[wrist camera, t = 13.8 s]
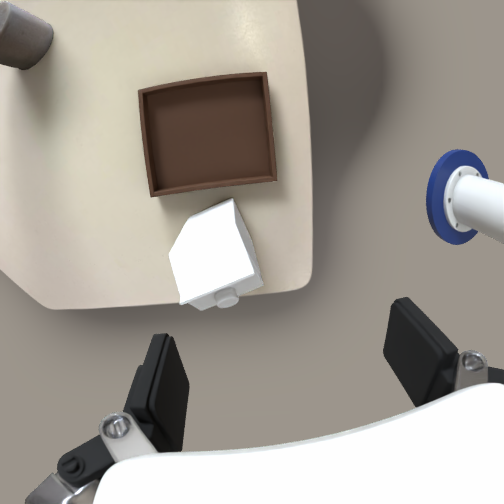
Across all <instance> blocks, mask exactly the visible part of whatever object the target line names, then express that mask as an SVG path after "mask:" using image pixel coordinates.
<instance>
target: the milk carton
mask: <svg viewBox="0 0 504 504" xmlns="http://www.w3.org/2000/svg"><path fill="white" fill-rule="evenodd" d="M169 258H170V261H171V265H172V269H173V272H174V276H175V279H176V283H177V286H178V290H179V293H180V296H181V299H180V303H179V304H180V305H183V304H185V303H189V304H191V305H192V306H194V307H196V308H197V309H199V310H205V309H207V308H209V307H212V306H215V305H217V306H218V307H220V308H227V307H230V306H233V305H235V304H236V303H238V301H239V298H238V296H240V295H242V294H245V293H247V292H250V291H252V290H254V289H257V288H259V287H261V286H263V285H264V284H263V280H262V276H261V273H260V269H259V265H258V261H257V257H256V254H255V250H254V246H253V242H252V239H251V237H250V235H249V233H248V230H247V228H246V226H245V224H244V221H243V219H242V217H241V215H240V213H239V210H238V208H237V206H236V204H235V202H234V199H233V198H230V199H228V200H225V201H223V202H221V203H219V204H217V205H214V206H212V207H210V208H208V209H206V210H203V211H201V212H199V213H197V214H195V215H193V216H191V217H189V218H188V220H187V221H186V223H185V225H184V227H183V229H182V231H181V232H180V234H179V236H178V238H177V240H176V242H175V244H174V246H173V248H172V249H171V251H170V253H169Z"/></svg>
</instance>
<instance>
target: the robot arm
mask: <svg viewBox="0 0 504 504" xmlns="http://www.w3.org/2000/svg"><path fill="white" fill-rule="evenodd" d="M443 203H444V213H445V216H446V219H447V221H448V223H449V225H450V226H451V227H452V228H454V229H455V230H457V231H460V232H467V231H469V230H471V229H474V230H477V231H479V232H481V233H483V234H485V235H487V236H489V237H491V238H493V239H495V240H497V241H499V242H501V243H503V244H504V184H503V183H500V182H496V181H493V180H489V179H485V178H482V176H481V175H480V173H479V172H478V171H477V170H476V169H475V168H473V167H470V166H461V167H459V168H457V169H456V170H455V171H454V172H453V173H452V174H451V176H450V177H449V180H448V182H447V184H446V187H445V192H444V200H443ZM383 354H384V357H385V359H386V360H387V362H388V363H389V365H390V366H391V368H392V370H393V371H394V373H395V374H396V376H397V377H398V379H399V381H400V382H401V384H402V386H403V387H404V389H405V390H406V392H407V394H408V395H409V397H410V399H411V400H412V402H413V404H414V405H415V407H417V408H414V409H412V410H409V411H407V412H404V413H401V414H399V415H396V416H393V417H390V418H387V419H384V420H381V421H378V422H375V423H372V424H368V425H365V426H362V427H358V428H354V429H351V430H347V431H343V432H339V433H335V434H331V435H327V436H322V437H318V438H313V439H308V440H302V441H297V442H291V443H285V444H279V445H272V446H264V447H255V448H247V449H246V448H245V449H233V450H220V451H198V452H181V451H182V446H183V437H184V428H185V418H186V411H187V403H188V395H189V381H188V378H187V375H186V373H185V370H184V367H183V364H182V361H181V359H180V356H179V353H178V350H177V347H176V344H175V341H174V338H173V337H172V336H171V337H169V335H168V334H167V333H166V334H154V335H153V338H152V340H151V343H150V346H149V349H148V352H147V355H146V358H145V360H144V363H143V365H140V366H139V367H138V369H137V371H136V374H135V377H134V380H133V383H132V385H131V389H130V391H129V394H128V398H127V401H126V404H125V407H124V410H123V412H114V413H111V414H109V415H107V416H106V417H104V419H103V420H102V421H101V423H100V425H99V433H100V435H98V436H96V437H94V438H93V439H91V440H89V441H87V442H86V443H84V444H82V445H81V446H79V447H77V448H75V449H73V450H71V451H70V452H68V453H66V454H64V455H63V456H62V457H61V458H60V460H59V462H58V464H57V470H58V472H57V473H56V474H53V473H51V474H50V475H49V476H48V477H47V478H46V479H45V480H44V481H43V482H42V483H41V484H40V485H39V486H38V487H37V488H36V489H35V490H34V491H33V492H32V493H31V494H30V495H29V496H28V497H27V498H26V500H25V504H504V370H502V369H498V368H492V367H488V364H487V360H486V358H485V357H484V356H483V355H482V354H481V353H479V352H477V351H471V350H469V351H464V352H463V353H461V354H460V355H459V353H458V349H457V347H456V346H455V345H454V344H453V343H452V342H451V341H450V340H449V339H448V338H447V337H446V336H445V334H444V333H443V332H442V331H441V330H440V329H439V328H438V327H437V326H436V325H435V324H434V323H433V322H432V321H431V320H430V319H429V318H428V317H427V316H426V315H425V314H424V313H423V312H422V311H421V310H420V309H419V308H418V307H417V306H416V305H415V304H414V303H413V302H412V301H411V300H410V299H409V298H408V297H404V298H400V299H396V300H395V301H394V303H393V304H392V305H391V310H390V316H389V322H388V328H387V334H386V339H385V344H384V349H383Z"/></svg>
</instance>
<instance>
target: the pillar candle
mask: <svg viewBox="0 0 504 504" xmlns="http://www.w3.org/2000/svg"><path fill="white" fill-rule="evenodd" d="M52 38H53V29H52V27H51V25H49V24H48V23H46V22H45V21H43V20H41V19H39V18H38V17H36V16H34V15H32V14H30V13H28V12H26V11H25V10H23V9H21V8H19V7H17V6H15V5H13V4H11V3H10V2H7V1H4V2H1V3H0V64H2V65H6V66H11V67H15V68H19V69H21V70H26V69H29V68H31V67H32V66H34V65H35V64H36V63H37V62H39V61H40V60H41V58H42V57H43V56H44V55H45V53H46V52H47V50H48V48H49V47H50V44H51V41H52Z"/></svg>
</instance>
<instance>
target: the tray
mask: <svg viewBox="0 0 504 504" xmlns="http://www.w3.org/2000/svg"><path fill="white" fill-rule="evenodd" d="M138 97H139V110H140V121H141V130H142V140H143V148H144V156H145V163H146V171H147V178H148V184H149V190H150V197H156V196H162V195H168V194H175V193H181V192H188V191H195V190H202V189H210V188H218V187H226V186H234V185H243V184H252V183H262V182H273V181H277V169H276V158H275V147H274V136H273V126H272V116H271V106H270V97H269V88H268V79H267V72H254V73H240V74H229V75H220V76H211V77H204V78H197V79H190V80H184V81H179V82H173V83H168V84H163V85H158V86H153V87H149V88H145V89H141V90H138Z"/></svg>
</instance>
